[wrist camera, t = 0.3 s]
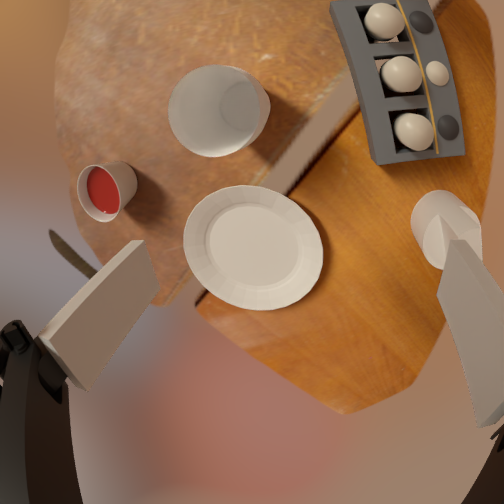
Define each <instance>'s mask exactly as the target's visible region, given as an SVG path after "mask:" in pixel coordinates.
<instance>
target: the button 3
mask: <svg viewBox="0 0 504 504" xmlns="http://www.w3.org/2000/svg"><path fill="white" fill-rule="evenodd" d="M392 130H393V134H394V136H395V138H396V139H397V140H398V141H399V142H400V143H402V144H404V145H406V146H407V147H409V148H411V149H413V150H416V151H422V150H425V149H427V148H428V147H429V146H430V145H431V143H432V141H433V138H434V130H433V127H432V125H431V123H430V122H429V120H428V119H427V118H425V117H424V116H421V115H418V114H412V113H401V114H399V115H398V116H397V117H396V118H395V119H394V121H393V124H392Z"/></svg>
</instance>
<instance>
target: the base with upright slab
mask: <svg viewBox="0 0 504 504" xmlns="http://www.w3.org/2000/svg"><path fill="white" fill-rule="evenodd" d="M411 230H412V232H413V235H414V237H415V239H416V241H417V242H418V244H419V246H420V248H421V250H422V252H423V253H424V255H425V257H426V259H427V260H428V261H429V263H430V264H431V265H433V266H434V267H435V268H439V269H442V270H443V269H444V265H445V261H446V257H447V252H448V247H449V243H450V239H453V240H466V241H467V243H468V244H469V245H470V247H471V248H472V249H473V250H474V252H475V253H476V254H477V256H478V257H479V259H480V260H481V261H482V263H483V257H482V237H481V226H480V221H479V219H478V217H477V216H476V214H475V213H474V212H473V211H472V210H471V209H470V208H468V207H467V206H466V205H465V204H464V203H463V202H462V201H461V200H460V199H459V198H457V197H456V196H455V195H454V194H453V193H451V192H449V191H446V190H435V191H431V192H429V193H427V194H425V195H424V196H423V197H422V198H421V199H420V200H419V201H418V202H417V204H416V205H415V207H414V209H413V212H412V215H411Z"/></svg>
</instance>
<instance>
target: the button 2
mask: <svg viewBox="0 0 504 504" xmlns="http://www.w3.org/2000/svg"><path fill="white" fill-rule="evenodd" d="M380 79H381V81H382V83H383V84H384V86H385V87H386V88H388V89H389V90H391V91H393V92H411V91H414V90H416V89H418V88H419V86H420V85H421V82H422V73H421V70H420V68H419V66H418V65H417V64H416V63H415V62H414V61H413V60H412V59H410V58H408V57H405V56H397V57H395V58H393V59H391V60H389V61H387V62H385V63H384V64H383V65H382V66H381V68H380Z"/></svg>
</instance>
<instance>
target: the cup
mask: <svg viewBox="0 0 504 504" xmlns="http://www.w3.org/2000/svg"><path fill="white" fill-rule="evenodd" d="M270 108H271V105H270V100H269V97H268V95H267V93H266V92H265V90H264V89H263V87H262V86H261V84H260V83H259V82H258V81H257V79H256V78H254V77H253V76H252V75H251V74H249V73H248V72H246V71H244V70H242V69H240V68H237V67H232V66H224V65H206V66H202V67H199V68H196V69H194V70H192V71H190V72H189V73H188V74H186V75H185V76H184V77H183V78H182V79H181V80H180V81H179V82H178V83H177V85H176V86H175V88H174V90H173V91H172V94H171V96H170V100H169V104H168V118H169V123H170V126H171V129H172V131H173V133H174V135H175V137H176V138H177V139H178V141H179V142H180V143H181V144H182V145H183V146H184V147H186V148H187V149H188V150H190V151H192V152H194V153H196V154H198V155H202V156H207V157H220V156H225V155H228V154H231V153H233V152H235V151H238V150H241V149H243V148H245V147H246V146H248V145H250V144H251V143H252V142H253V141H254V140H255V139H256V138H257V137H258V136H259V135H260V133H261V132H262V130H263V128H264V126H265V124H266V122H267V119H268V116H269V114H270Z"/></svg>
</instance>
